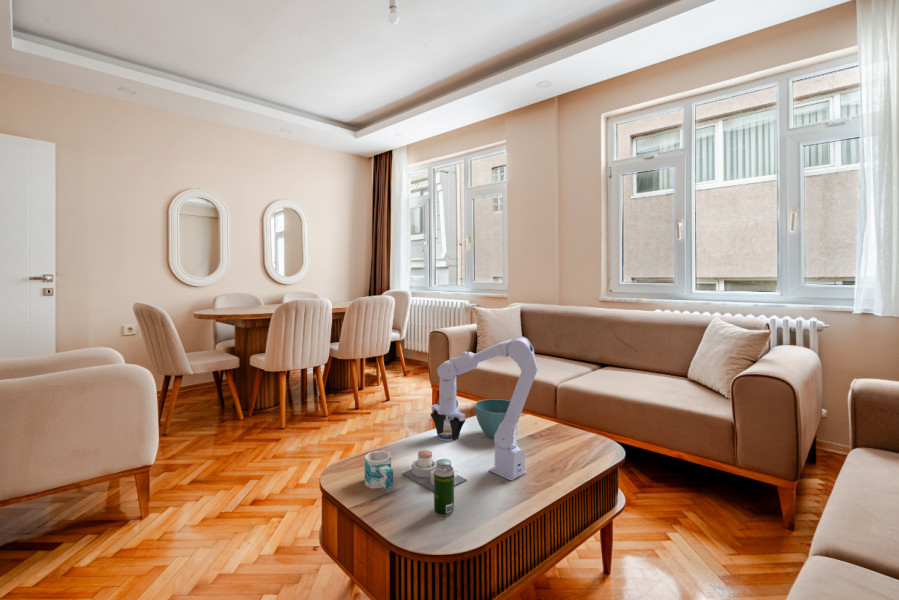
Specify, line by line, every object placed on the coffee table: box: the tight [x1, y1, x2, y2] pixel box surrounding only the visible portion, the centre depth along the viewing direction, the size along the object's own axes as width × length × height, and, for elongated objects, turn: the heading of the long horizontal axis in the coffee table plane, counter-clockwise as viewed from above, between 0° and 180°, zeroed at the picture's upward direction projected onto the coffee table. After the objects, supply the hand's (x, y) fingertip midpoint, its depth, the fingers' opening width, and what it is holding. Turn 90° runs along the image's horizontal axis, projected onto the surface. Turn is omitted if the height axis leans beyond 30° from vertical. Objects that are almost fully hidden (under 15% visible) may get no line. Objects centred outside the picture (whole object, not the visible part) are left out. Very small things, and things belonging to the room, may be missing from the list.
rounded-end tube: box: [417, 449, 433, 468], centre depth 139 cm, size 4×4×6 cm
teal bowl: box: [474, 398, 520, 440], centre depth 171 cm, size 18×18×12 cm
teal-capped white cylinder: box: [436, 458, 452, 467], centre depth 132 cm, size 4×4×6 cm
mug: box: [364, 450, 394, 490], centre depth 131 cm, size 8×12×8 cm
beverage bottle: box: [436, 388, 459, 442], centre depth 169 cm, size 8×8×20 cm
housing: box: [402, 458, 468, 493], centre depth 136 cm, size 17×12×3 cm
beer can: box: [433, 465, 455, 518], centre depth 116 cm, size 5×5×12 cm
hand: (447, 436), depth 145 cm, fingers open, 7 cm apart
